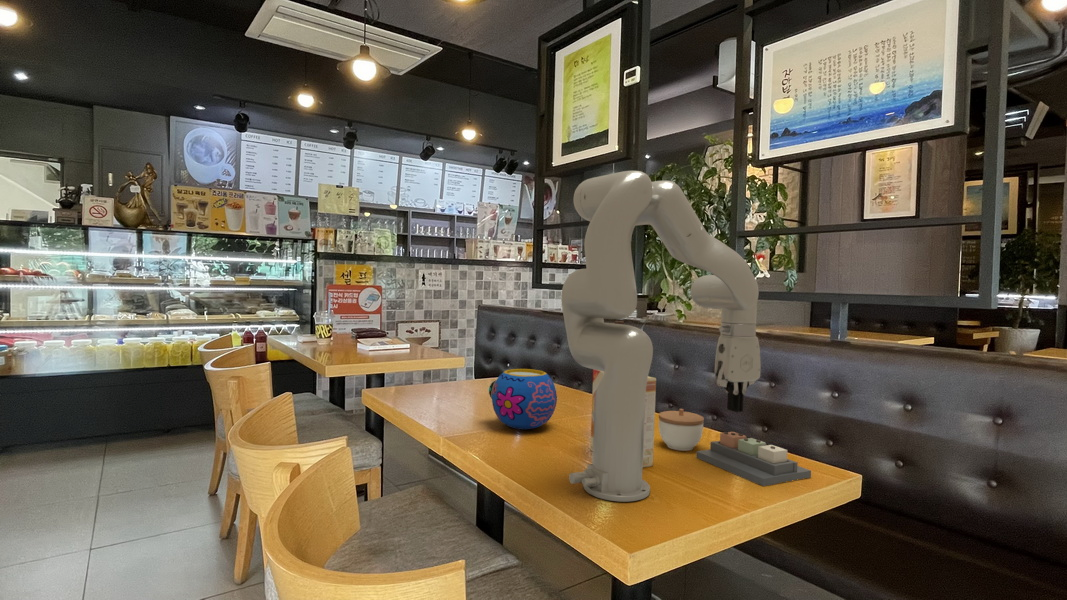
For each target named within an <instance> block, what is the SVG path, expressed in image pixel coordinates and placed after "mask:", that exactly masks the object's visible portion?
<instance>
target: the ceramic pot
mask: <svg viewBox="0 0 1067 600" xmlns="http://www.w3.org/2000/svg"><path fill="white" fill-rule="evenodd" d="M488 394H489V397H490V398H491V403H492V408H493V411H494V413H495V415H496V418H497V419H498V420H499V421H500V422H502V424H504V425H506V426H508V427H510V428H513V429H517V430H532V429H536V428H539V427H541V426H543V425H545V424H546V423H548V422H549V421H550V419H551V417H552V416H553V415H554V412H555V410H556V407H557V402H558V398H557V397H558V395H557V394H558V393H557V389H556V387H555V383H554V381H553V380H552V378H551V376H550V375H549V373H547V372H545V371H543V370H538V369H531V368H513V369H512V368H511V369H507V370H504V371H503V372H502V373H501V374H499V376H498V377H497V378H496V380H494V381H492V382H491V383H490V385H489V387H488Z"/></svg>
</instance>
